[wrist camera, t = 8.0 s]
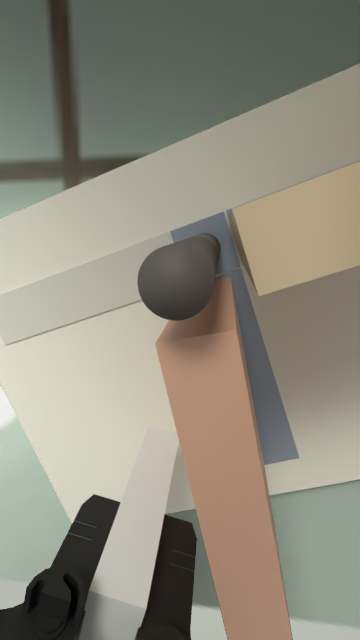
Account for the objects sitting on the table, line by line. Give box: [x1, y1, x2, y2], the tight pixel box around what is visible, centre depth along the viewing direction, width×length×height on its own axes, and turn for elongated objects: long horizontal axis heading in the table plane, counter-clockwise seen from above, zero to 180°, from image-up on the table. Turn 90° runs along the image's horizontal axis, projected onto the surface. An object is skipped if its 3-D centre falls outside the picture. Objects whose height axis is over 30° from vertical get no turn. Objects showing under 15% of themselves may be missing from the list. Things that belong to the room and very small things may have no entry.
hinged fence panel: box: [155, 276, 293, 640], centre depth 11 cm, size 9×2×7 cm, turn 12°
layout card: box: [0, 63, 360, 523], centre depth 14 cm, size 16×22×1 cm
